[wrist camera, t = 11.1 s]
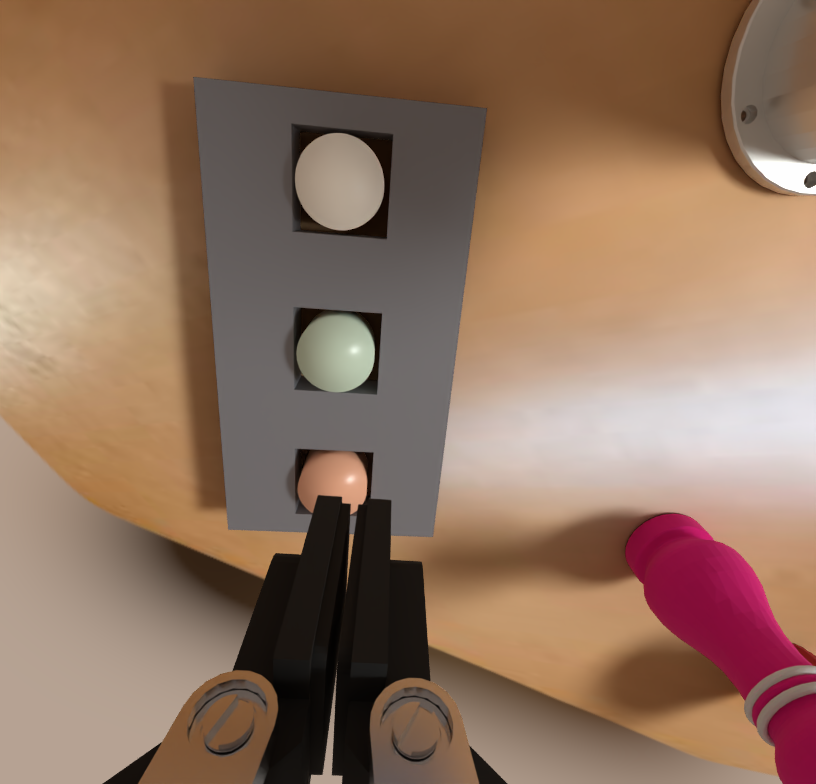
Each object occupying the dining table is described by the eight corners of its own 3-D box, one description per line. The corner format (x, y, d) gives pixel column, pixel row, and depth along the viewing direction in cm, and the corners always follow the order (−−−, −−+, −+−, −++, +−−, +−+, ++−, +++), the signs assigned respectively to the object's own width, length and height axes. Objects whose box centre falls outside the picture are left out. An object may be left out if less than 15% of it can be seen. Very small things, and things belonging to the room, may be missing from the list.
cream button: (304, 137, 24) (294, 128, 22) (386, 145, 25) (387, 137, 22) (305, 224, 26) (295, 226, 23) (381, 231, 26) (381, 233, 24)
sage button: (305, 304, 28) (296, 315, 25) (377, 310, 28) (376, 321, 25) (305, 372, 29) (296, 390, 26) (373, 377, 30) (372, 394, 27)
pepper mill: (622, 588, 38) (849, 952, 19) (614, 520, 35) (869, 866, 17) (709, 567, 37) (1027, 919, 19) (707, 497, 35) (1076, 825, 16)
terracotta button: (305, 436, 31) (297, 458, 28) (369, 439, 31) (368, 462, 28) (305, 491, 33) (297, 517, 30) (366, 493, 33) (364, 519, 30)
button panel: (212, 90, 24) (193, 76, 21) (477, 117, 25) (487, 108, 22) (239, 507, 33) (228, 529, 31) (429, 514, 34) (432, 537, 32)
